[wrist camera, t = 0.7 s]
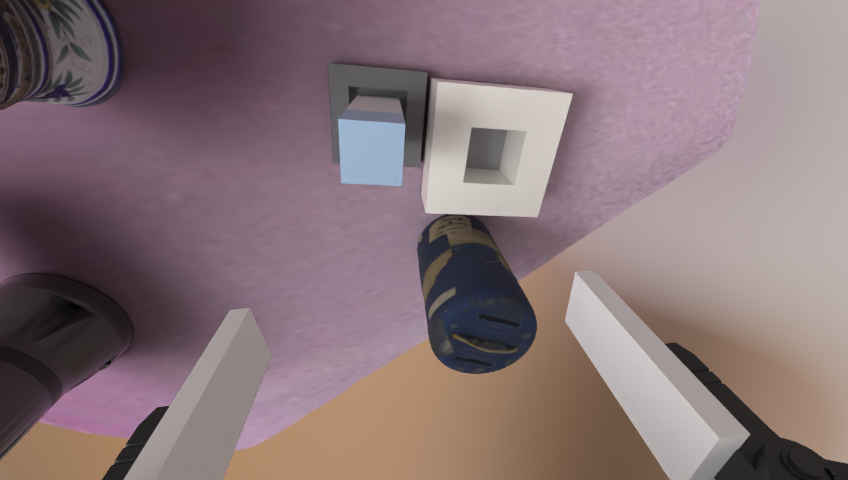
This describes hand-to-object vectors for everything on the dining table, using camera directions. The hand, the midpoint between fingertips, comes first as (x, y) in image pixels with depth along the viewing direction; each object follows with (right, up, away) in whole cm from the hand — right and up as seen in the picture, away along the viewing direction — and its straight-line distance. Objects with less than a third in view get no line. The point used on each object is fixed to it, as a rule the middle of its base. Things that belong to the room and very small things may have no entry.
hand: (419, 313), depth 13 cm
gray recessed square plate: (-4, +16, +20) cm, 26 cm away
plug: (-4, +15, +19) cm, 25 cm away
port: (+6, +14, +22) cm, 27 cm away
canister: (+4, +3, +28) cm, 29 cm away
